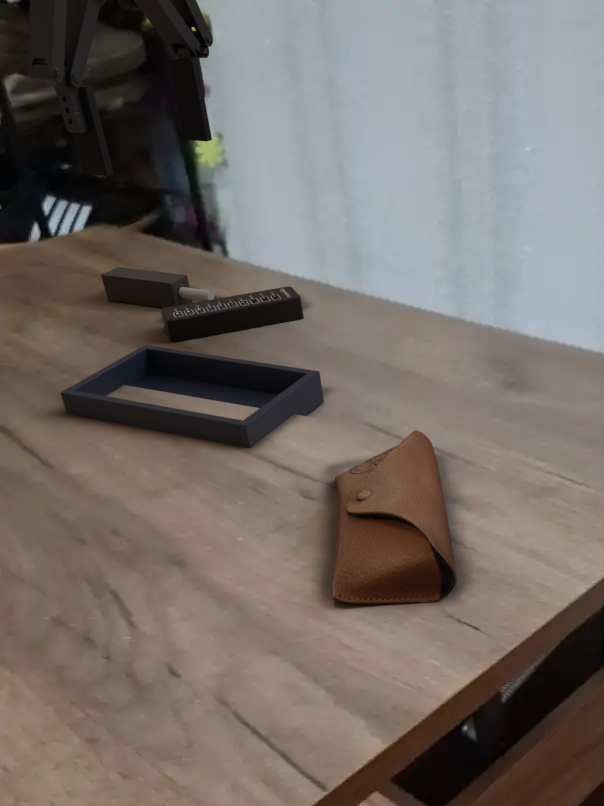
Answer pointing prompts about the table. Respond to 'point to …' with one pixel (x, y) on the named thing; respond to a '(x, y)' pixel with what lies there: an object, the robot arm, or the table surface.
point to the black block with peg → (151, 288)
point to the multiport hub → (231, 313)
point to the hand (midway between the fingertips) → (151, 156)
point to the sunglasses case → (393, 529)
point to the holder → (197, 394)
